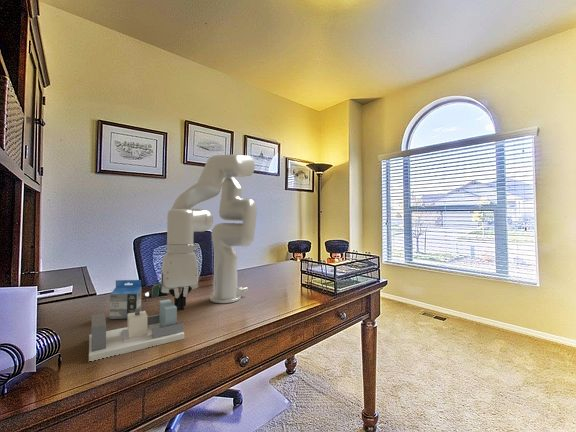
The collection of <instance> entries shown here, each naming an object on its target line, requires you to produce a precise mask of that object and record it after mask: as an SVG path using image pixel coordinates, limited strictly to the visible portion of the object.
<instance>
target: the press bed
mask: <svg viewBox="0 0 576 432" xmlns="http://www.w3.org/2000/svg"><path fill="white" fill-rule="evenodd" d="M158 323H159V314H153V315H147V333H146V334H142V335H137V336H132V337H129V336H128V332H127V329H125V330H122V336H123V340H124V343H125V342H130V341H134V340H139V339H143V338H147V337H152V339H154V338H159V337H163V336H167V335H171V334H176V333H180V332H184V322H183V321H181V322H177V323H176V324H171V325H166V326H162V327H157V328H152V330H151V328H150V326H149V325H153V324H158ZM106 331H107V319H106V312H101V313H95V314H91V334H92V345H91V352H93V351H97V350H102V349H106Z"/></svg>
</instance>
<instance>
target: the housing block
mask: <svg viewBox="0 0 576 432" xmlns="http://www.w3.org/2000/svg"><path fill="white" fill-rule="evenodd" d="M147 316H148V313H147V312H146V310H141V311H140V309H135V313H129V314H127V319H126V321H127V323H126V325H127V326H126V327H127V332H128V336H129V337H132V336H137V335H142V334H146V333H147Z"/></svg>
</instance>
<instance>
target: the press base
mask: <svg viewBox="0 0 576 432" xmlns="http://www.w3.org/2000/svg"><path fill="white" fill-rule="evenodd" d="M149 326H150V328H151V330H152V328H157V327H162V326H161V325H160V323H158V324H153V325H149ZM125 329H127V326H125V327H120V328H115V329H111V330H106V349H102V350H97V351H93V352H91V345H92V333H91V334H88V336H89V338H88V339H89V340H88V346H89V347H88V362H89V361H92V362H95V361H94V360H96V361H98V359H100V360H103V359H102V358H104V359H107V358H106V357H108V358H111V357H110V356H112V357H115V356H114V355H116V356H120V355H123V354H128V353H131V352H135V351H140V350H145V349H148V347H149V348H152V346H153V347H157V346H160V345H165V344H169V343H171V342H177V341H180V340H184V339H185V332H184V331H183V332H180V333H176V334H171V335H167V336H163V337H159V338H154V339H152V337H147V338H143V339H139V340H134V341H130V342H125V343H124V340H123V336H122V330H125ZM156 345H157V346H156ZM119 354H120V355H119Z"/></svg>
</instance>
